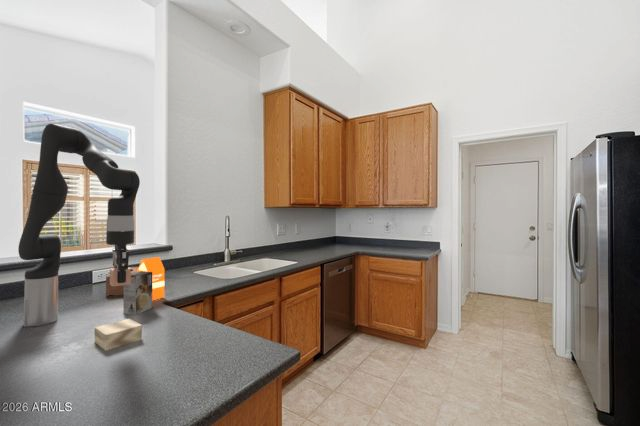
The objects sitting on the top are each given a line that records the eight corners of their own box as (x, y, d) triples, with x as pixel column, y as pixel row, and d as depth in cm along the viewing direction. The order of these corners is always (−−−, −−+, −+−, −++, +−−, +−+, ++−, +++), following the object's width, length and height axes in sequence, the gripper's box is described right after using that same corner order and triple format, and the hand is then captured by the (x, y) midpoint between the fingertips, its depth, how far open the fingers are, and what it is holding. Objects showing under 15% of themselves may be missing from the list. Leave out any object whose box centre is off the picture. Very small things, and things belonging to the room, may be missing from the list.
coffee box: (140, 306, 129) (140, 270, 129) (153, 307, 128) (153, 271, 128) (122, 313, 120) (123, 275, 120) (135, 315, 119) (136, 275, 119)
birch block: (105, 351, 88) (105, 335, 88) (94, 342, 94) (94, 327, 94) (141, 340, 96) (141, 325, 96) (129, 332, 102) (129, 318, 102)
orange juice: (164, 298, 143) (164, 257, 143) (147, 303, 135) (147, 259, 135) (153, 296, 146) (154, 256, 146) (136, 300, 138) (136, 258, 138)
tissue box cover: (120, 284, 169) (120, 267, 169) (148, 282, 174) (148, 266, 174) (105, 296, 145) (106, 276, 145) (139, 294, 150) (139, 274, 150)
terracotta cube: (112, 286, 92) (112, 270, 92) (109, 283, 96) (109, 268, 96) (130, 284, 95) (130, 268, 95) (127, 281, 99) (127, 266, 99)
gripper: (103, 228, 98) (102, 279, 98) (110, 230, 88) (109, 287, 88) (129, 228, 103) (129, 276, 103) (138, 230, 93) (138, 283, 93)
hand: (120, 280), depth 95 cm, fingers closed on terracotta cube, 5 cm apart
